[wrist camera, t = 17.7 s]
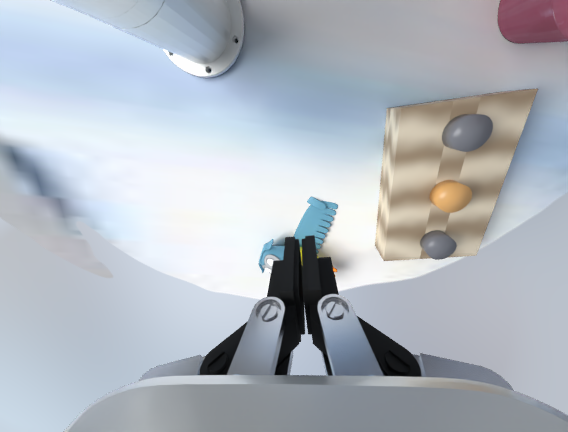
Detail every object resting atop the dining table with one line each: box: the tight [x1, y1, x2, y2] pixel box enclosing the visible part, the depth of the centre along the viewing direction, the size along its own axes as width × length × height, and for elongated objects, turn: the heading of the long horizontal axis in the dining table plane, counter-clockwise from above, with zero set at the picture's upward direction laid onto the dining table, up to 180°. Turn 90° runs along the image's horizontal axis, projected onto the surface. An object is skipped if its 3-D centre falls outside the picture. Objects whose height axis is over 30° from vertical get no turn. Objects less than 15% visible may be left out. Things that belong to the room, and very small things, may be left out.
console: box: [375, 89, 538, 261], centre depth 34 cm, size 26×16×5 cm, turn 8°
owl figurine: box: [259, 197, 338, 275], centre depth 42 cm, size 28×9×15 cm
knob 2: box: [442, 114, 493, 152], centre depth 28 cm, size 4×4×6 cm
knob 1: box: [420, 230, 457, 259], centre depth 36 cm, size 4×4×6 cm
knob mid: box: [430, 180, 472, 213], centre depth 32 cm, size 4×4×6 cm
